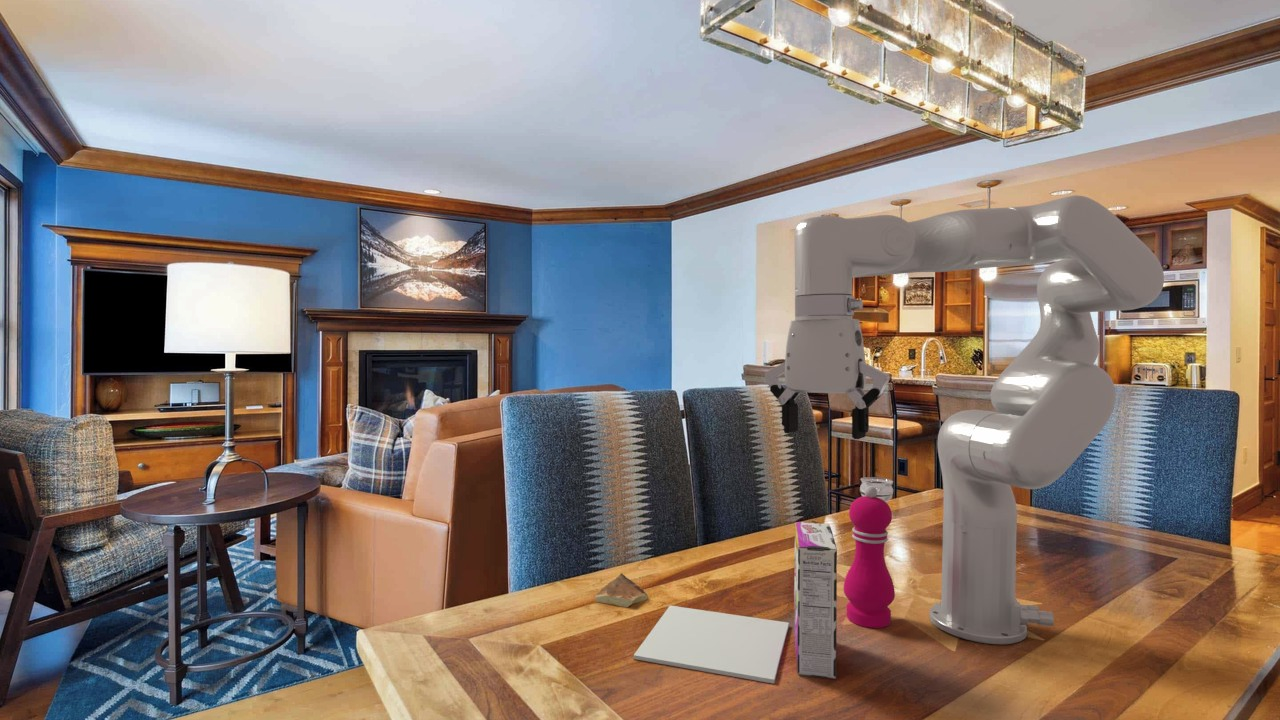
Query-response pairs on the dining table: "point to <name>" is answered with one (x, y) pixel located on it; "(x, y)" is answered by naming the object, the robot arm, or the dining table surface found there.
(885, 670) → the dining table surface
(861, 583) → the pepper mill
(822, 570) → the candy bar box
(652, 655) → the pale gray mat
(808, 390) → the robot arm
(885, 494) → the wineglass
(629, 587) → the shard
